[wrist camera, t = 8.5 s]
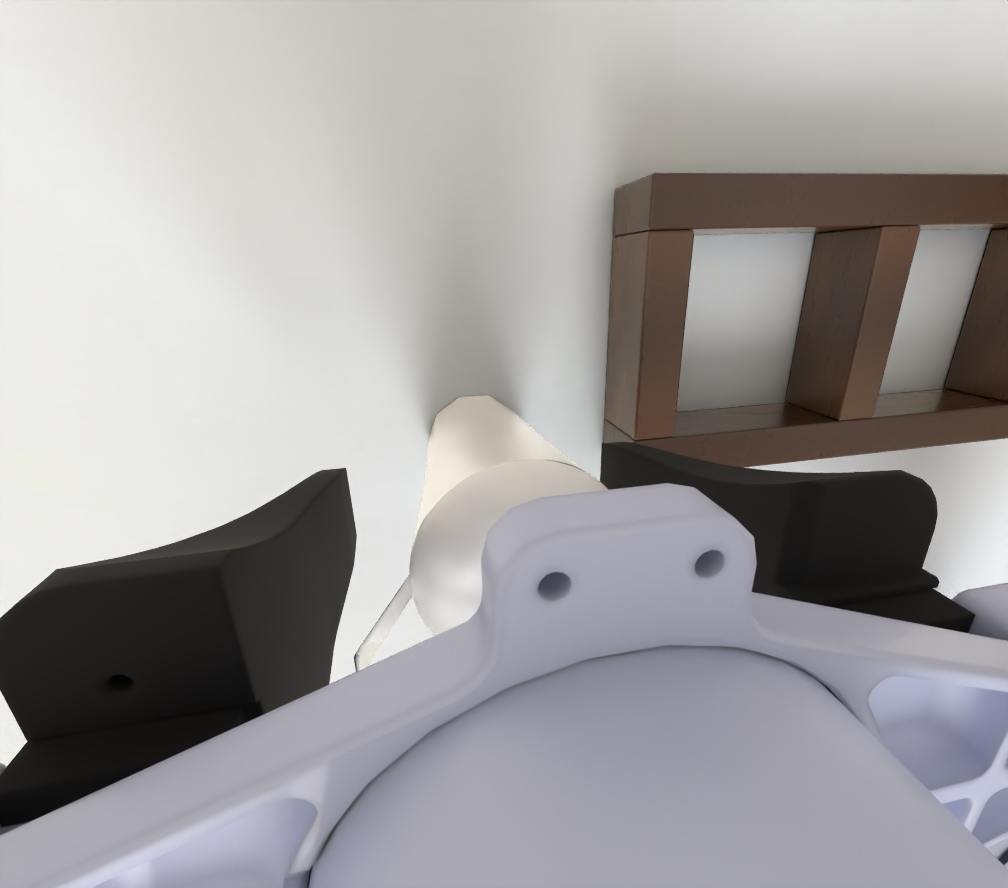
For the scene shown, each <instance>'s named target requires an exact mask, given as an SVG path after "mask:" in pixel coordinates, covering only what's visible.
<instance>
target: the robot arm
mask: <svg viewBox="0 0 1008 888" xmlns="http://www.w3.org/2000/svg"><path fill="white" fill-rule="evenodd" d="M600 482H601V483H602V484H603V485H604V486H605V487H606V488H607V489H608V490H603V491H594V492H585V493H576V494H567V495H558V496H550V497H541V498H538V499H535V500H532V501H529V502H527V503H524V504H521V505H518V506H515V507H513V508H510V509H509V510H508V511H507V512H506V513H505V514H504V515H503V516H502V517H501V518H500V519H499V520H498V521H497V522H496V523H495V524H494V526H493V527H492V528H491V529H490V530H489V531H488V533H487V537H486V541H485V545H484V549H483V553H482V557H481V570H482V598H481V603H480V606H479V608H478V610H477V612H476V613H475V614H474V615H473V616H472V617H471V618H470V619H469V620H468V621H467V622H464V623H462V624H460V625H458V626H456V627H453V628H451V629H449V630H447V631H445V632H443V633H440V634H438V635H436V636H434V637H432V638H429V639H427V640H425V641H423V642H421V643H419V644H416V645H414V646H412V647H410V648H408V649H405V650H403V651H401V652H399V653H397V654H395V655H392V656H390V657H388V658H386V659H384V660H382V661H379V662H377V663H375V664H373V665H371V666H368V667H366V668H364V669H362V670H360V671H358V672H355V673H353V674H351V675H349V676H347V677H344V678H342V679H340V680H338V681H336V682H334V683H331V684H329V681H330V674H331V666H332V658H333V650H334V644H335V639H336V634H337V630H338V626H339V622H340V618H341V614H342V610H343V606H344V602H345V599H346V595H347V591H348V587H349V583H350V579H351V575H352V571H353V566H354V559H355V549H356V537H357V534H356V528H355V522H354V515H353V509H352V503H351V497H350V490H349V484H348V478H347V471H346V468H341V469H331V470H322V471H319V472H317V473H315V474H313V475H311V476H310V477H308V478H307V479H305V480H303V481H302V482H300V483H299V484H297V485H296V486H294V487H293V488H291V489H289V490H288V491H286V492H285V493H283V494H282V495H280V496H278V497H277V498H275V499H273V500H271V501H270V502H268V503H266V504H264V505H263V506H261V507H259V508H258V509H256V510H254V511H252V512H250V513H248V514H246V515H244V516H242V517H240V518H238V519H236V520H233V521H231V522H229V523H227V524H225V525H222V526H220V527H217V528H215V529H212V530H209V531H207V532H204V533H201V534H198V535H195V536H193V537H190V538H187V539H184V540H182V541H178V542H175V543H172V544H169V545H165V546H162V547H158V548H155V549H151V550H147V551H143V552H139V553H135V554H131V555H127V556H123V557H119V558H114V559H108V560H103V561H98V562H93V563H88V564H83V565H78V566H73V567H67V568H61V569H56V570H55V571H54V572H53V573H52V574H50V575H49V576H48V577H47V578H46V579H45V580H44V581H42V582H41V583H40V584H39V585H38V586H37V587H35V588H34V589H33V590H32V591H31V592H30V593H28V594H27V595H26V596H25V597H24V598H22V599H21V600H20V601H19V602H18V603H16V604H15V605H14V606H13V607H12V608H11V609H10V610H9V611H8V612H6V613H5V614H4V615H3V616H2V617H1V618H0V691H1V692H2V694H3V696H4V698H5V700H6V702H7V704H8V706H9V708H10V709H11V711H12V713H13V715H14V717H15V719H16V721H17V723H18V725H19V726H20V728H21V730H22V732H23V734H24V736H25V738H26V740H27V741H28V742H27V743H26V744H25V745H24V746H23V748H22V749H21V750H20V751H19V753H18V754H17V755H16V756H15V757H14V759H13V760H12V761H11V762H10V764H9V765H8V766H7V767H6V766H5V765H4V764H2V763H0V888H1008V583H1004V584H998V585H992V586H987V587H981V588H975V589H969V590H965V591H963V592H960V593H959V594H958V595H956V596H955V597H954V598H953V599H952V600H951V599H949V598H947V597H946V596H944V595H942V594H941V593H939V592H937V591H936V590H934V589H933V588H936V587H938V584H939V580H938V578H937V577H936V576H934V575H932V574H931V573H929V572H927V571H925V570H924V569H922V566H923V563H924V560H925V557H926V554H927V551H928V548H929V545H930V542H931V539H932V536H933V533H934V530H935V525H936V520H937V502H936V498H935V495H934V493H933V491H932V489H931V487H930V486H929V485H928V484H927V483H926V482H925V481H924V480H923V479H921V478H918V477H916V476H913V475H911V474H909V473H906V472H904V471H902V470H892V471H872V472H853V473H798V472H781V471H768V470H758V469H749V468H743V467H736V466H730V465H724V464H718V463H713V462H709V461H704V460H700V459H695V458H691V457H687V456H683V455H679V454H676V453H672V452H668V451H665V450H661V449H657V448H653V447H650V446H646V445H642V444H637V443H632V442H612V443H602V453H601V475H600Z"/></svg>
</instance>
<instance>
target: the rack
mask: <svg viewBox="0 0 1008 888" xmlns="http://www.w3.org/2000/svg"><path fill="white" fill-rule="evenodd" d="M951 229H993V230H992V231H991V234H990V237H989V241H988V244H987V247H986V251H985V254H984V257H983V261H982V264H981V267H980V271H979V274H978V277H977V281H976V284H975V287H974V291H973V294H972V297H971V300H970V304H969V307H968V310H967V314H966V317H965V320H964V324H963V327H962V330H961V334H960V337H959V340H958V344H957V347H956V350H955V354H954V357H953V360H952V364H951V367H950V370H949V374H948V377H947V380H946V384H945V388H946V389H940V390H928V391H917V392H905V393H894V394H882V395H878V394H879V390H880V386H881V382H882V378H883V374H884V370H885V366H886V362H887V358H888V354H889V350H890V347H891V343H892V339H893V335H894V331H895V327H896V323H897V319H898V315H899V311H900V307H901V303H902V299H903V295H904V291H905V287H906V283H907V279H908V275H909V271H910V267H911V263H912V260H913V256H914V252H915V248H916V244H917V240H918V236H919V232H920V230H951ZM807 232H818V233H817V234H816V237H815V243H814V248H813V253H812V259H811V264H810V270H809V275H808V281H807V286H806V292H805V297H804V303H803V308H802V313H801V319H800V324H799V330H798V335H797V341H796V346H795V352H794V357H793V363H792V368H791V373H790V379H789V384H788V390H787V395H786V402H787V403H779V404H768V405H756V406H745V407H733V408H722V409H710V410H699V411H687V412H676V407H677V397H678V387H679V377H680V367H681V357H682V347H683V337H684V327H685V318H686V308H687V298H688V288H689V278H690V268H691V258H692V248H693V238H694V235H711V234H759V233H807ZM613 236H615V237H614V238H613V248H612V270H611V291H610V313H609V334H608V356H607V377H606V398H605V418H606V419H605V420H604V441H603V443H612V442H632V443H637V444H642V445H646V446H650V447H653V448H657V449H661V450H665V451H668V452H672V453H676V454H679V455H683V456H687V457H691V458H695V459H700V460H704V461H709V462H713V463H718V464H724V465H730V466H736V467H751V466H760V465H769V464H778V463H787V462H796V461H805V460H815V459H824V458H833V457H842V456H851V455H860V454H869V453H878V452H887V451H896V450H905V449H914V448H923V447H932V446H941V445H950V444H959V443H968V442H978V441H987V440H996V439H1005V438H1008V174H860V173H653V174H651V175H648V176H646V177H643V178H641V179H639V180H636V181H634V182H631V183H629V184H626V185H624V186H621V187H619V188H616V189H615V201H614V223H613Z"/></svg>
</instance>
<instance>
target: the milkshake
mask: <svg viewBox="0 0 1008 888" xmlns="http://www.w3.org/2000/svg"><path fill="white" fill-rule="evenodd" d="M603 490H608V489H607V488H606V487H605V486H604V485H603V484H602V483H601V482H600V481H599V480H597V479H596V478H595V477H593V476H592V475H590V474H589V473H587V472H586V471H585V470H583V469H582V468H581V467H580V466H578V465H577V464H576V463H574V462H573V461H572V460H570V459H569V458H568V457H567V456H565V455H564V454H563V453H561V452H560V451H559V450H557V449H556V448H555V447H553V446H552V445H550V444H549V443H548V442H547V441H546V440H545V439H544V438H543V437H541V436H540V435H539V434H538V433H537V432H536V431H535V430H534V429H532V428H531V427H530V426H529V425H528V424H527V423H526V422H525V421H523V420H522V419H521V418H520V417H519V416H518V415H517V414H516V413H514V412H513V411H512V410H510V409H509V408H507V407H506V406H504V405H503V404H501V403H499V402H498V401H496V400H495V399H493V398H492V397H490V396H489V395H483V396H466V397H458V398H457V399H456V400H454V401H453V402H452V403H451V404H449V405H448V406H447V407H446V408H444V409H443V410H442V411H441V412H439V413H438V414H437V415H436V416H435V420H434V424H433V428H432V431H431V435H430V439H429V442H428V449H427V459H426V468H425V477H424V486H423V495H422V499H421V504H420V509H419V515H418V520H417V526H416V531H415V537H414V542H413V548H412V552H411V559H410V574H409V576H408V577H407V579H406V580H405V582H404V583H403V585H402V586H401V588H400V589H399V590H398V592H397V593H396V595H395V596H394V598H393V599H392V601H391V602H390V604H389V605H388V607H387V608H386V609H385V611H384V612H383V614H382V615H381V617H380V618H379V620H378V621H377V623H376V624H375V626H374V627H373V628H372V630H371V631H370V633H369V634H368V636H367V637H366V639H365V640H364V642H363V643H362V645H361V646H360V648H359V649H358V651H357V652H356V654H355V656H354V662H355V668H356V672H358V671H360V670H362V669H364V668H366V667H367V666H368V665H369V663H370V662H371V660H372V658H373V657H374V655H375V654H376V652H377V651H378V649H379V647H380V646H381V644H382V643H383V641H384V639H385V638H386V636H387V635H388V633H389V632H390V630H391V628H392V627H393V625H394V624H395V622H396V620H397V619H398V617H399V616H400V614H401V613H402V611H403V609H404V608H405V606H406V605H407V603H408V602H409V600H410V598H411V597H412V595H413V598H414V601H415V604H416V607H417V609H418V612H419V614H420V616H421V618H422V619H423V621H424V623H425V624H426V626H427V627H428V628H429V630H430V631H431V632H432V633H433V634H434V635H435V636H436V635H438V634H440V633H443V632H445V631H447V630H449V629H451V628H453V627H456V626H458V625H460V624H462V623H464V622H467V621H468V620H469V619H470V618H471V617H472V616H473V615H474V614H475V613H476V612H477V610H478V608H479V606H480V603H481V598H482V570H481V557H482V553H483V549H484V545H485V541H486V537H487V533H488V531H489V530H490V529H491V528H492V527H493V526H494V524H495V523H496V522H497V521H498V520H499V519H500V518H501V517H502V516H503V515H504V514H505V513H506V512H507V511H508V510H509V509H510V508H513V507H515V506H518V505H521V504H524V503H527V502H529V501H532V500H535V499H538V498H541V497H550V496H558V495H567V494H576V493H585V492H594V491H603Z"/></svg>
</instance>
